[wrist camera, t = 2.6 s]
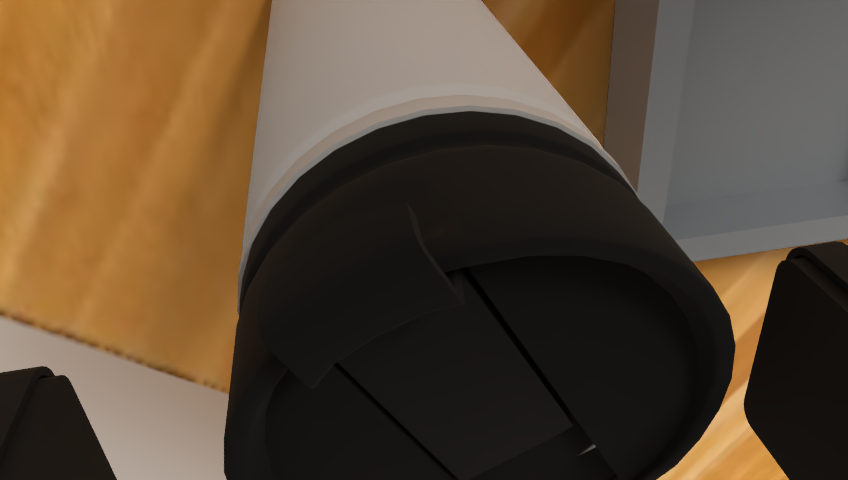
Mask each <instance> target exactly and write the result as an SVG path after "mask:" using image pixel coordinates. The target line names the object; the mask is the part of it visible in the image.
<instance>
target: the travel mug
mask: <svg viewBox="0 0 848 480" xmlns="http://www.w3.org/2000/svg"><path fill="white" fill-rule="evenodd" d="M238 314H239V320H238V324H237V328H236V337H235V346H234V356H233V365H232V374H231V383H230V392H229V401H228V410H227V418H226V426H225V435H224V473H225V476H226V479H227V480H656V479H658V478H659V477H661V476H662V475H663V474H665V473H666V472H668V471H669V470H670V469H672V468H673V467H675V466H676V465H677V464H678V463H679V461H680V460H681V459H682V458H683V457H684V456H685V455H686V454H687V453H688V452H689V451H690V449H691V448H692V447H693V446H694V445H695V444H696V443H697V442H698V441H699V440H700V438H701V437H702V435H703V434H704V432H705V431H706V429H707V428H708V426H709V424H710V423H711V421H712V420H713V418H714V417H715V415H716V414H717V412H718V411H719V409H720V406H721V404H722V401H723V399H724V396H725V394H726V391H727V389H728V386H729V384H730V381H731V379H732V371H733V363H734V354H735V340H734V335H733V330H732V325H731V320H730V315H729V313H728V312H727V310H726V308H725V307H724V305H723V303H722V302H721V300H720V298H719V297H718V295H717V293H716V291H715V290H714V288H713V287H712V285H711V284H710V283H709V282H708V280H707V279H706V278H705V277H704V276H703V274H702V273H701V272H700V271H699V270H698V268H697V267H696V266H695V265H694V263H693V262H692V261H691V260H690V259H689V257H688V256H687V255H686V254H685V252H684V251H683V250H682V249H681V248H680V246H679V245H678V244H677V243H676V241H675V240H674V239H673V238H672V237H671V235H670V234H669V233H668V232H667V230H666V229H665V228H664V227H663V226H662V224H661V223H660V222H659V221H658V219H657V218H656V217H655V216H654V215H653V213H652V212H651V211H650V210H649V209H648V208H647V207H646V206H645V205H644V204H643V203H642V202H641V201H640V199H639V196H638V194H637V193H636V191H635V190H634V188H633V187H632V185H631V183H630V182H629V180H628V179H627V177H626V176H625V174H624V173H623V171H622V169H621V168H620V166H619V165H618V164H617V163H616V162H615V160H614V159H613V158H612V157H611V156H610V155H609V154H608V153H607V152H606V151H605V150H604V149H603V147H602V146H601V144H600V143H599V141H598V140H597V139H596V138H595V136H594V135H593V134H592V133H591V132H590V130H589V129H588V128H587V127H586V126H585V124H584V123H583V122H582V121H581V120H580V118H579V117H578V116H577V115H576V114H575V112H574V111H573V110H572V109H571V108H570V106H569V105H568V104H567V103H566V102H565V100H564V99H563V98H562V97H561V96H560V94H559V93H558V92H557V91H556V90H555V88H554V87H553V86H552V85H551V84H550V82H549V81H548V80H547V79H546V78H545V76H544V75H543V74H542V73H541V72H540V70H539V69H538V68H537V67H536V66H535V64H534V63H533V62H532V61H531V60H530V58H529V57H528V56H527V55H526V54H525V52H524V51H523V50H522V49H521V48H520V46H519V45H518V44H517V43H516V42H515V40H514V39H513V38H512V37H511V36H510V34H509V33H508V32H507V31H506V30H505V28H504V27H503V26H502V25H501V24H500V22H499V21H498V20H497V19H496V18H495V16H494V15H493V14H492V13H491V12H490V10H489V9H488V8H487V7H486V6H485V4H484V3H483V2H482V1H481V0H272V5H271V13H270V21H269V29H268V38H267V46H266V54H265V62H264V70H263V78H262V87H261V95H260V103H259V111H258V119H257V127H256V136H255V144H254V152H253V160H252V168H251V177H250V185H249V193H248V201H247V209H246V217H245V226H244V234H243V242H242V257H241V260H240V266H239V275H238Z"/></svg>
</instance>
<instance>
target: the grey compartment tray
mask: <svg viewBox="0 0 848 480" xmlns="http://www.w3.org/2000/svg"><path fill="white" fill-rule="evenodd" d="M604 150H605V151H606V152H607V153H608V154H609V155H610V156H611V157H612V158H613V159H614V160H615V162H616V163H617V164H618V165H619V166H620V168H621V169H622V171H623V173H624V174H625V176H626V177H627V179H628V180H629V182H630V183H631V185H632V187H633V188H634V190H635V191H636V193H637V194H638V196H639V199H640V201H641V202H642V203H643V204H644V205H645V206H646V207H647V208H648V209H649V210H650V211H651V212H652V213H653V215H654V216H655V217H656V218H657V219H658V221H659V222H660V223H661V224H662V226H663V227H664V228H665V229H666V230H667V232H668V233H669V234H670V235H671V237H672V238H673V239H674V240H675V241H676V243H677V244H678V245H679V246H680V248H681V249H682V250H683V251H684V252H685V254H686V255H687V256H688V257H689V259H690V260H691V261H692V262H694V261H701V260H708V259H714V258H721V257H728V256H735V255H741V254H748V253H755V252H761V251H768V250H775V249H782V248H788V247H795V246H802V245H809V244H815V243H822V242H829V241H835V240H842V239H848V0H616V2H615V14H614V27H613V39H612V51H611V63H610V76H609V88H608V100H607V112H606V125H605V137H604Z"/></svg>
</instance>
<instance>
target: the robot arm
mask: <svg viewBox="0 0 848 480" xmlns="http://www.w3.org/2000/svg"><path fill="white" fill-rule="evenodd" d="M744 411H745V415H746V418H747V420H748V423H749V424H750V426H751V428H752V429H753V430H754V432H755V433H756V435H757V436H758V437H759V439H760V440H761V441H762V443H763V444H764V445H765V447H766V448H767V450H768V451H769V452H770V454H771V455H772V456H773V458H774V459H775V460H776V462H777V463H778V465H779V466H780V467H781V469H782V470H783V471H784V473H785V474H786V475H787V477H788V478H789V480H848V246H847V245H845V244H844V243H842V242H835V241H834V242H828V243H822V244H815V245H809V246H803V247H797V248H795V249H792V250H791V251H790V253H789V254H788V256H787V258H786V260H784V261H781V263H780V264H779V265H778V267H777V269H776V273H775V277H774V281H773V285H772V289H771V293H770V297H769V301H768V305H767V309H766V313H765V318H764V322H763V326H762V330H761V334H760V338H759V342H758V346H757V350H756V354H755V358H754V362H753V366H752V370H751V374H750V378H749V382H748V386H747V390H746V394H745V399H744ZM0 480H117V479H116V477H115V475H114V473H113V471H112V468H111V466H110V464H109V462H108V460H107V458H106V456H105V454H104V452H103V450H102V447H101V445H100V443H99V441H98V439H97V437H96V435H95V433H94V430H93V428H92V426H91V424H90V422H89V420H88V418H87V416H86V414H85V411H84V409H83V407H82V405H81V403H80V401H79V399H78V397H77V395H76V393H75V390H74V388H73V386H72V384H71V382H70V381H69V379H68V378H67V377H66V376H64V375H60V376H55V375H54V374H53V372H52V371H51V370H50V369H49V368H47V367H43V366H41V367H35V368H28V369H22V370H15V371H9V372H3V373H0Z"/></svg>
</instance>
